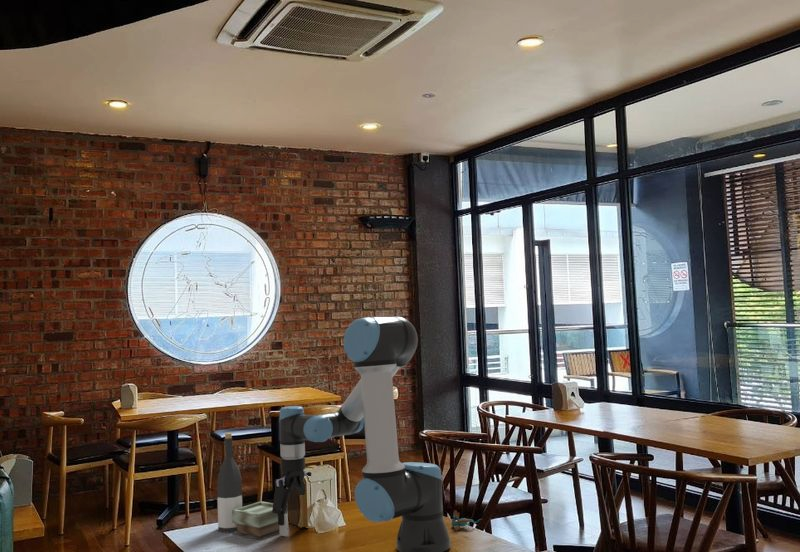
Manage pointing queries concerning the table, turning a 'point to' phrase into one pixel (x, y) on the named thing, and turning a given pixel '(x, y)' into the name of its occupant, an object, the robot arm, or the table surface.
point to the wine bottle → (228, 489)
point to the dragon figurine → (460, 521)
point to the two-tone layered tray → (256, 520)
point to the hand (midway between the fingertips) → (294, 531)
